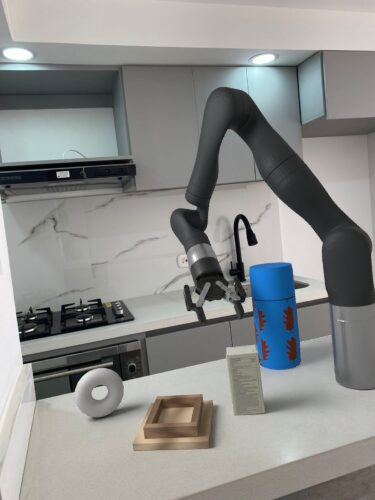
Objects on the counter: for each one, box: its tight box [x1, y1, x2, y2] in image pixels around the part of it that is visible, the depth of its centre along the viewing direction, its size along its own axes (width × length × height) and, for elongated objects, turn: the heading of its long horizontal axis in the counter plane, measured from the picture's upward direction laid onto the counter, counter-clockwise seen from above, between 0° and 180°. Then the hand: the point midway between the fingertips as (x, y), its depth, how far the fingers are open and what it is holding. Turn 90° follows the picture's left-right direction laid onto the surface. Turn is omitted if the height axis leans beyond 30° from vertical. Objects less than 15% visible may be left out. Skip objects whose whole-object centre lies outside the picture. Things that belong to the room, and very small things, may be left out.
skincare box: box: [225, 344, 266, 416], centre depth 70 cm, size 6×4×12 cm
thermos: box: [248, 261, 302, 371], centre depth 91 cm, size 11×11×25 cm
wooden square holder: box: [132, 393, 214, 451], centre depth 67 cm, size 13×14×3 cm
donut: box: [74, 367, 125, 418], centre depth 74 cm, size 10×4×10 cm, turn 109°
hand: (223, 320), depth 80 cm, fingers open, 8 cm apart
